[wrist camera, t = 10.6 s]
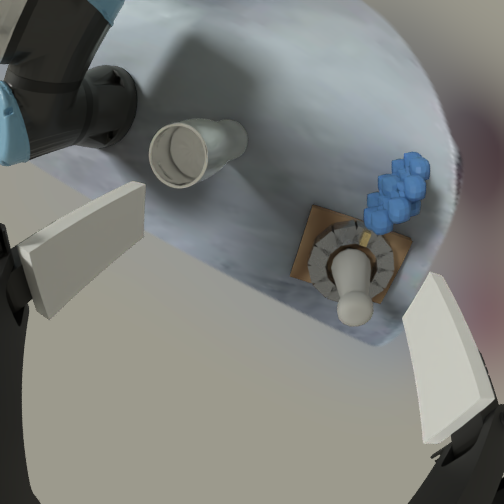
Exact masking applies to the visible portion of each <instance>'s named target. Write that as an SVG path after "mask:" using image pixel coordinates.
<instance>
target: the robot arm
mask: <svg viewBox="0 0 504 504" xmlns="http://www.w3.org/2000/svg"><path fill="white" fill-rule="evenodd" d="M124 1H125V0H0V64H9V65H8V68H7V71H6V75H5V78H4V81H0V165H3V166H11V165H14V164H17V163H21V162H27V161H28V160H31V159H34V158H36V157H39V156H42V155H45V154H48V153H50V152H53V151H56V150H59V149H63V148H66V147H69V146H72V145H77V146H83V147H89V148H103V147H106V146H110V145H113V144H115V143H117V142H118V141H119V140H121V139H122V138H123V137H124V136H125V134H126V133H127V132H128V130H129V128H130V127H131V125H132V122H133V120H134V117H135V113H136V107H137V94H136V88H135V85H134V82H133V80H132V78H131V76H130V75H129V74H128V73H127V72H126V71H125V70H124V69H122V68H120V67H118V66H110V65H102V66H97V67H94V68H92V69H89V70H88V68H89V66H90V64H91V62H92V60H93V58H94V56H95V54H96V52H97V50H98V48H99V46H100V45H101V43H102V41H103V39H104V37H105V36H106V34H107V32H108V31H109V29H110V27H112V26H113V24H114V20H115V18H116V16H117V14H118V13H119V11H120V9H121V8H122V6H123V4H124ZM145 188H146V184H143V183H139V182H135V181H131V182H129V183H127V184H125V185H123V186H121V187H119V188H117V189H115V190H113V191H111V192H109V193H107V194H105V195H103V196H101V197H99V198H97V199H95V200H93V201H91V202H89V203H87V204H85V205H83V206H81V207H80V208H78V209H76V210H74V211H72V212H71V213H69V214H67V215H65V216H63V217H62V218H60V219H58V220H57V221H54V222H53V223H51V224H49V225H48V226H46V227H45V228H43V229H41V230H39V231H38V232H36V233H35V234H33V235H31V236H30V237H28V238H27V239H25V240H24V241H22V242H21V243H19V244H18V245H16V246H15V247H13V248H12V249H11V248H10V244H9V240H8V235H7V232H6V227H5V225H4V224H2V223H0V504H40V502H39V500H38V499H37V498H36V496H35V495H34V494H33V492H32V490H31V486H30V482H29V477H28V471H27V465H26V458H25V450H24V440H23V427H22V369H23V368H22V367H23V355H24V344H25V336H26V329H27V322H28V316H29V306H28V304H27V303H28V302H29V301H30V300H31V299H33V302H34V305H35V308H36V310H37V312H39V313H40V314H41V315H43V316H44V317H46V318H47V319H48V320H50V319H51V318H52V317H53V316H54V315H55V314H56V313H57V312H58V311H59V310H60V309H62V307H64V306H65V305H66V304H67V303H68V302H69V301H70V300H71V299H72V298H73V297H74V296H75V295H77V294H78V293H79V292H80V291H81V290H82V289H83V288H84V287H85V286H86V285H88V284H89V283H90V282H91V281H92V280H93V279H94V278H95V277H96V276H98V275H99V274H100V273H101V272H102V271H103V270H105V269H106V268H107V267H108V266H109V265H110V264H111V263H113V262H114V261H115V260H116V259H117V258H119V257H120V256H121V255H122V254H124V253H125V252H126V251H127V250H128V249H130V248H131V247H132V246H133V245H135V244H136V243H137V242H138V241H140V240H141V239H142V238H143V237H144V208H145ZM402 320H403V324H404V328H405V333H406V337H407V341H408V345H409V350H410V355H411V360H412V365H413V370H414V376H415V382H416V388H417V394H418V401H419V408H420V416H421V425H422V436H423V443H424V444H439V443H440V442H442V441H443V440H445V439H446V438H447V437H449V436H450V435H451V440H452V442H451V443H449V444H448V445H447V446H445V447H444V448H442V449H440V450H439V451H437V452H436V453H434V454H433V455H432V456H431V458H434V457H436V456H437V455H440V457H439V458H438V459H437V460H435V462H436V464H435V465H434V467H433V469H432V470H431V472H430V473H429V475H428V476H427V478H426V479H425V481H424V482H423V484H422V485H421V487H420V488H419V489H418V491H417V492H416V494H415V495H414V496H413V497H412V499H411V500H410V502H409V503H408V504H504V477H503V478H502V476H503V473H504V404H500V405H499V404H498V401H497V397H496V394H495V391H494V388H493V385H492V382H491V379H490V376H489V375H488V370H487V368H486V367H485V362H484V360H483V357H482V354H481V353H480V351H479V350H478V348H477V346H476V344H475V341H474V339H473V337H472V334H471V332H470V330H469V328H468V325H467V323H466V321H465V319H464V317H463V315H462V312H461V310H460V308H459V306H458V305H457V302H456V300H455V298H454V297H453V294H452V293H451V291H450V289H449V287H448V285H447V283H446V281H445V279H444V278H443V276H441V275H438V274H436V273H433V272H429V274H428V276H427V278H426V280H425V281H424V283H423V285H422V287H421V288H420V290H419V292H418V293H417V295H416V297H415V298H414V300H413V302H412V303H411V305H410V306H409V308H408V309H407V311H406V313H405V314H404V316H403V317H402Z"/></svg>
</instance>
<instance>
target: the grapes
mask: <svg viewBox="0 0 504 504" xmlns="http://www.w3.org/2000/svg"><path fill="white" fill-rule="evenodd" d="M429 176H430V164H429V162H428V160H426V159H425V158H423V157H422V156H421V155H420V154H419V153H417V152H409V153H405V154H404V159H397V160H393V161H392V174H384V175H381V176H378V188H379V192H374V193H371V194H368V195H367V206H368V208H366V209H364V217H363V220H364V224H365V227H366V228H367V229H369V230H372V231H373V232H374V233H375V234H376V235H383V234H387V233H389V232H391V231H392V230H393V223H395V224H400V223H404V222H406V221H408V220H410V217H412V216H415V215H418V214H419V213H420V208H421V201H420V200H422V199H424V198H425V194H426V182H425V180H428V179H429Z"/></svg>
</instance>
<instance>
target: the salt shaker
mask: <svg viewBox="0 0 504 504" xmlns="http://www.w3.org/2000/svg"><path fill="white" fill-rule="evenodd" d="M331 269H332V274H333V278H334V281H335V284H336V287H337V290H338V293H339V296H340V300H339V302H338V305H337V313H338V317H339V320H340V321H341V322H342V323H343V324H345V325H348V326H360V325H363V324H365V323H366V322H368V321H369V320H370V319H371V317H372V315H373V303H372V300H371V298H370V297H369V296H368V294H369V285H370V275H371V264H370V260H369V258H368V257H367V256H366V254H365V253H364V252H362V251H360V250H358V249H352V248H347V249H345V250H344V251H341V252H339V253H338V254H337V255H336V257H335V258H334V259H333V263H332V266H331Z"/></svg>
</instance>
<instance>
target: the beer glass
mask: <svg viewBox="0 0 504 504" xmlns="http://www.w3.org/2000/svg"><path fill="white" fill-rule="evenodd" d="M247 144H248V136H247V133H246V130H245V129H244V127H243V126H242V125H241V124H240V123H238V122H236V121H234V120H230V119H224V120H220V121H218V122H215V121H212V120H208V119H201V118H200V119H188V120H183V121H179V122H176V123H171V124H168V125H166V126H164V127H162V128H161V129H160V130H158V131H157V133H156V134H155V135H154V137H153V139H152V141H151V144H150V147H149V161H150V165H151V168H152V170H153V172H154V174H155V175H156V176H157V178H158V179H159V180H160V181H161V182H163V183H164V184H166V185H168V186H170V187H173V188H187V187H190V186H192V185H194V184H196V183H199V182H201V181H204V180H206V179H208V178H210V177H211V176H213V175H214V174H216V173H217V172H218V171H220V170H221V169H222V168H223V167H224V165H225V164H226V163H227V162H228V161H229V160H234V159H236V158H238V157H240V156H241V155H242V154H243V153H244V151H245V150H246V147H247Z"/></svg>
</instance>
